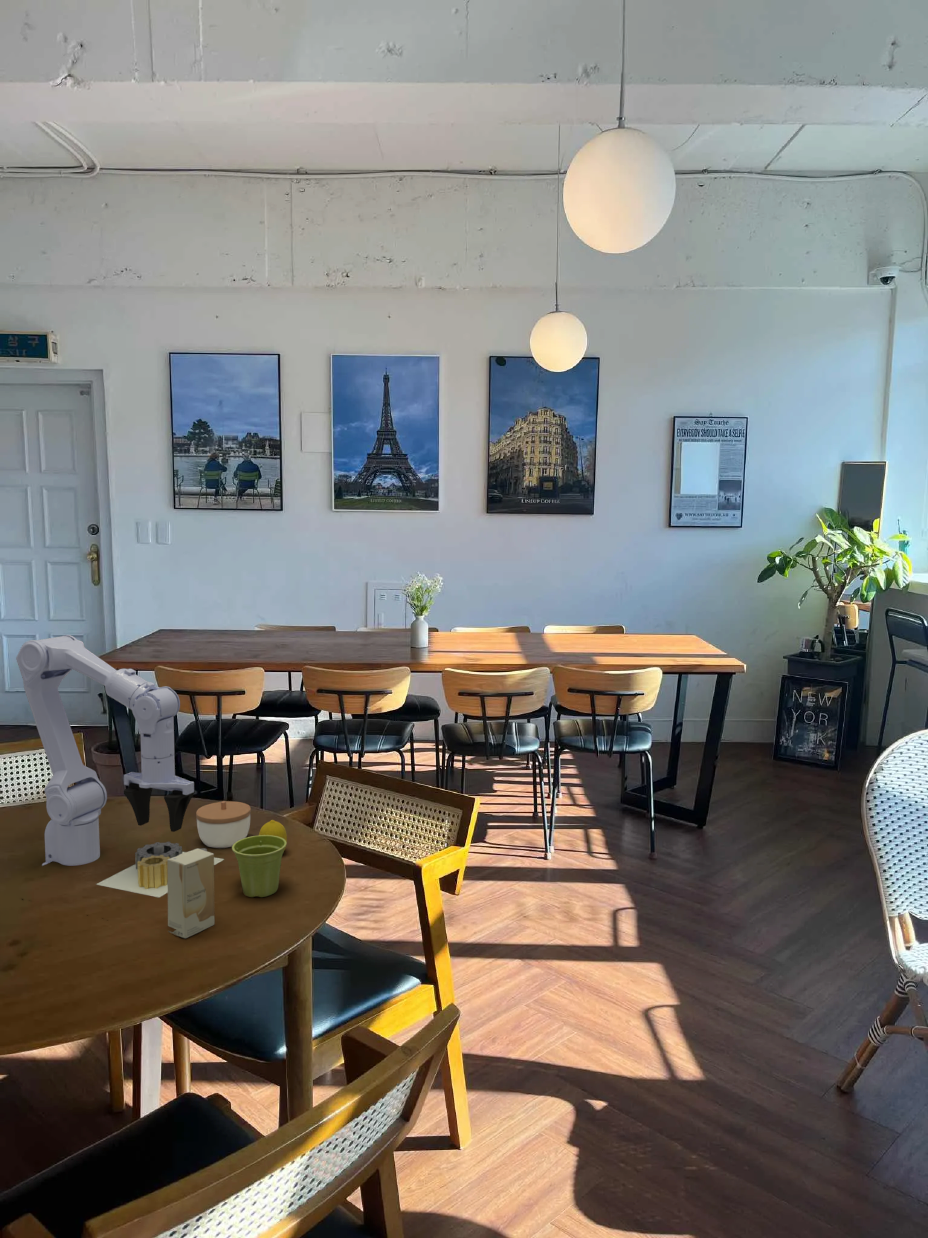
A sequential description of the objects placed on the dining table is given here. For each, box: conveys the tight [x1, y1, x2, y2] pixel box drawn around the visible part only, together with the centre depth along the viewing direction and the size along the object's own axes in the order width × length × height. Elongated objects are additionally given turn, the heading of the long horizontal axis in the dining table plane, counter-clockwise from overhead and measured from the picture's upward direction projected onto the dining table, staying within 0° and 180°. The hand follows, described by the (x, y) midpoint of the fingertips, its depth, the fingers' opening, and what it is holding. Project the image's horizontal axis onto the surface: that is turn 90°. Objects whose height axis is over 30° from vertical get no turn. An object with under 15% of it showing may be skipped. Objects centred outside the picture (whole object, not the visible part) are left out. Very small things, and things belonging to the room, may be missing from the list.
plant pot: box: [231, 834, 287, 898], centre depth 149 cm, size 9×9×9 cm
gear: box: [134, 841, 183, 869], centre depth 157 cm, size 8×8×3 cm
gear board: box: [95, 845, 225, 898], centre depth 154 cm, size 14×18×5 cm
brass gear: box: [137, 855, 170, 889], centre depth 149 cm, size 6×6×4 cm
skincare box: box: [167, 848, 215, 939], centre depth 135 cm, size 6×4×12 cm
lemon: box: [258, 819, 288, 851], centre depth 163 cm, size 6×6×8 cm
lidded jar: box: [195, 800, 252, 849], centre depth 170 cm, size 11×11×9 cm
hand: (159, 826), depth 153 cm, fingers open, 7 cm apart
